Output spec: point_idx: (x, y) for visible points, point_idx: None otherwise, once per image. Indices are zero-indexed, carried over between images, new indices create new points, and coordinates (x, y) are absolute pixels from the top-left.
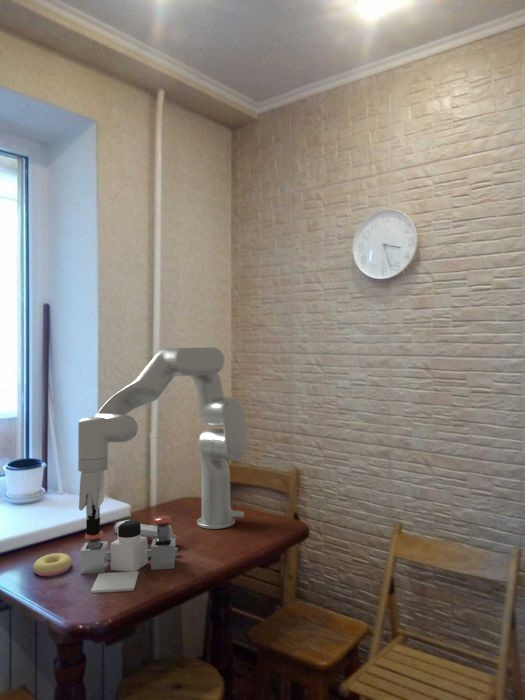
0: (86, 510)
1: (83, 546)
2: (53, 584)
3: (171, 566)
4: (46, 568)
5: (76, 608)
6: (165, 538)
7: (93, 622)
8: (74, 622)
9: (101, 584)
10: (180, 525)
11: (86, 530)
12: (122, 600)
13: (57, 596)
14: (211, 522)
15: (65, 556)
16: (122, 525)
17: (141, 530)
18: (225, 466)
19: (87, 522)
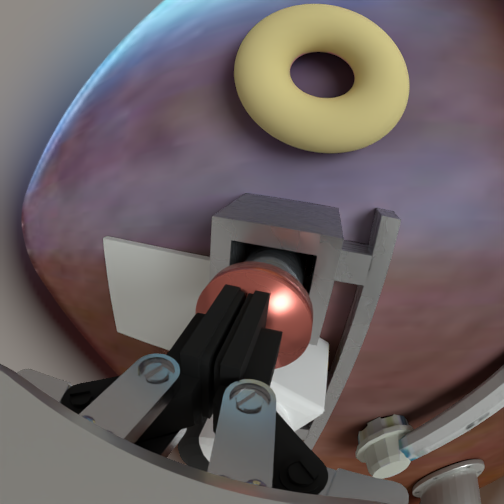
0: (81, 415)
1: (275, 230)
2: (174, 110)
3: None
4: (236, 60)
5: (55, 209)
6: None
7: (28, 244)
8: (25, 212)
9: (132, 265)
10: (491, 437)
11: (219, 296)
12: (83, 299)
13: (99, 148)
14: (433, 484)
15: (333, 124)
16: (188, 450)
17: (468, 407)
18: None
19: (191, 341)
